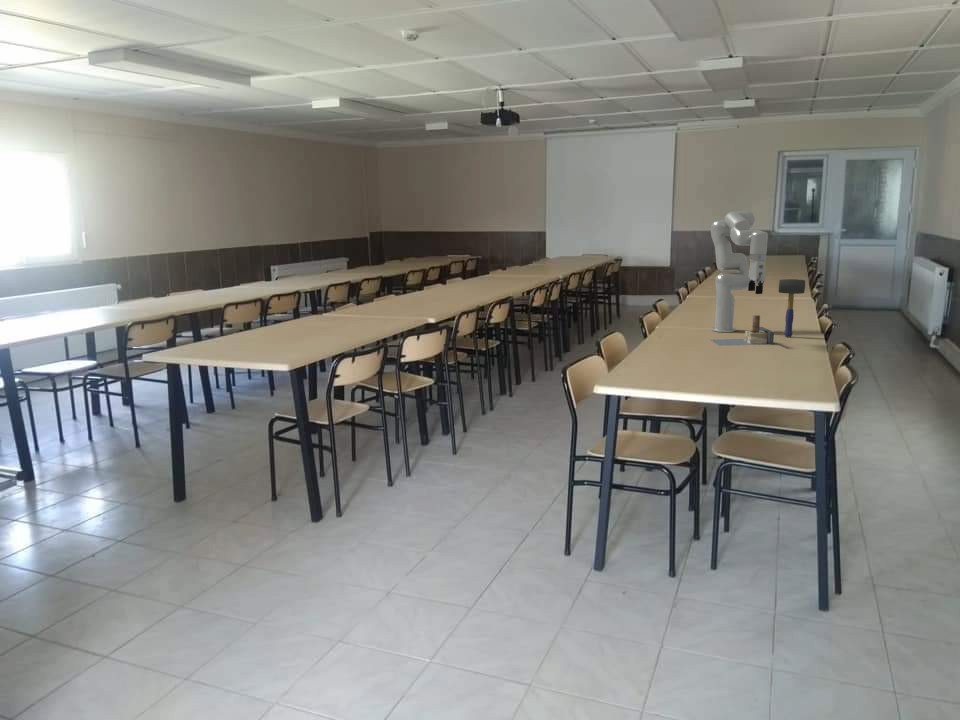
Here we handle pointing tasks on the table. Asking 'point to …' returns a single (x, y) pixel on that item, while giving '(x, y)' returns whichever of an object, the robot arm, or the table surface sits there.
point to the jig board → (741, 341)
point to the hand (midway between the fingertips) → (755, 292)
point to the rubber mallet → (790, 299)
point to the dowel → (756, 324)
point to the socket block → (756, 337)
